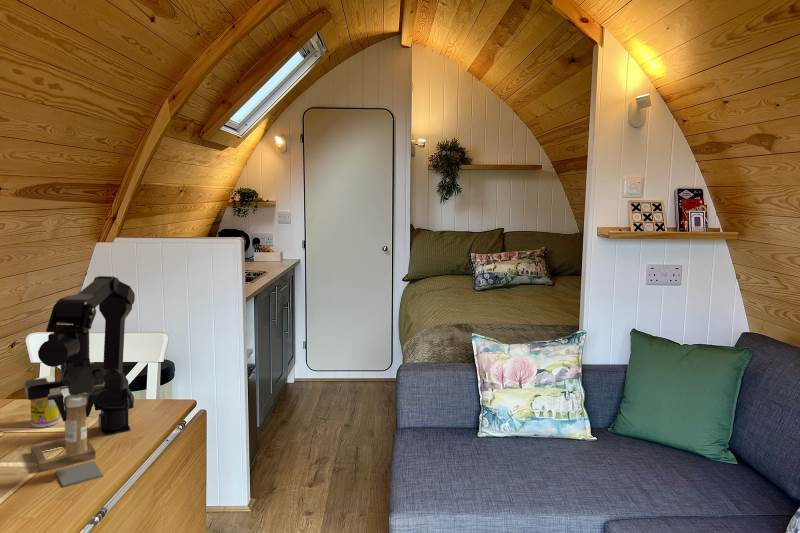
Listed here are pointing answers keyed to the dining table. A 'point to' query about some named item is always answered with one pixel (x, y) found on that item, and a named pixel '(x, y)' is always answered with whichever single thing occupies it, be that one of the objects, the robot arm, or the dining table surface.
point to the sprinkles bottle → (75, 424)
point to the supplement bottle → (44, 410)
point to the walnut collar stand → (61, 460)
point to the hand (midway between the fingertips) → (75, 418)
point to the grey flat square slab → (78, 473)
